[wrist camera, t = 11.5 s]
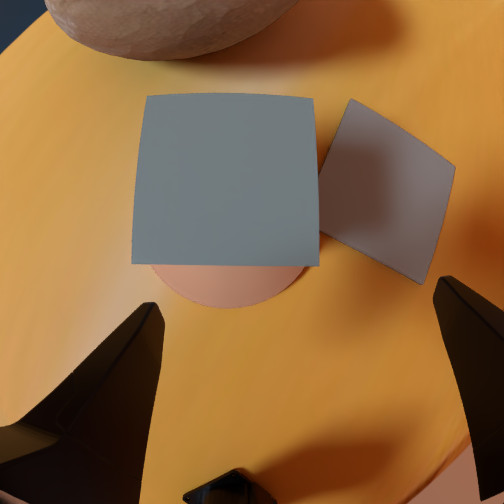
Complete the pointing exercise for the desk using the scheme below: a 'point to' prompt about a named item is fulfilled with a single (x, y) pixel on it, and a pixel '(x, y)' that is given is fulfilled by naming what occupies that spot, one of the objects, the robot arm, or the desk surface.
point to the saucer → (227, 283)
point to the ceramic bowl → (164, 25)
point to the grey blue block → (227, 181)
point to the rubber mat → (384, 192)
